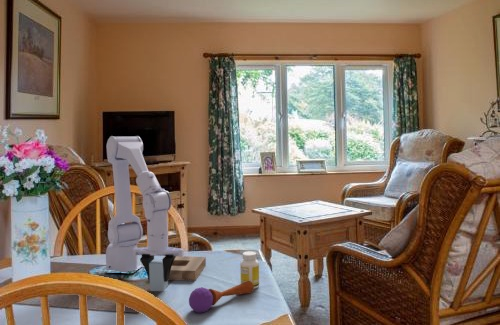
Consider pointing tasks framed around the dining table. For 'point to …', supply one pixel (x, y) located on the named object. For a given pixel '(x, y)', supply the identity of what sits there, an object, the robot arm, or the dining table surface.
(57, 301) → the dining table surface
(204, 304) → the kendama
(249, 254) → the supplement bottle
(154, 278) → the peg
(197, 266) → the socket block
